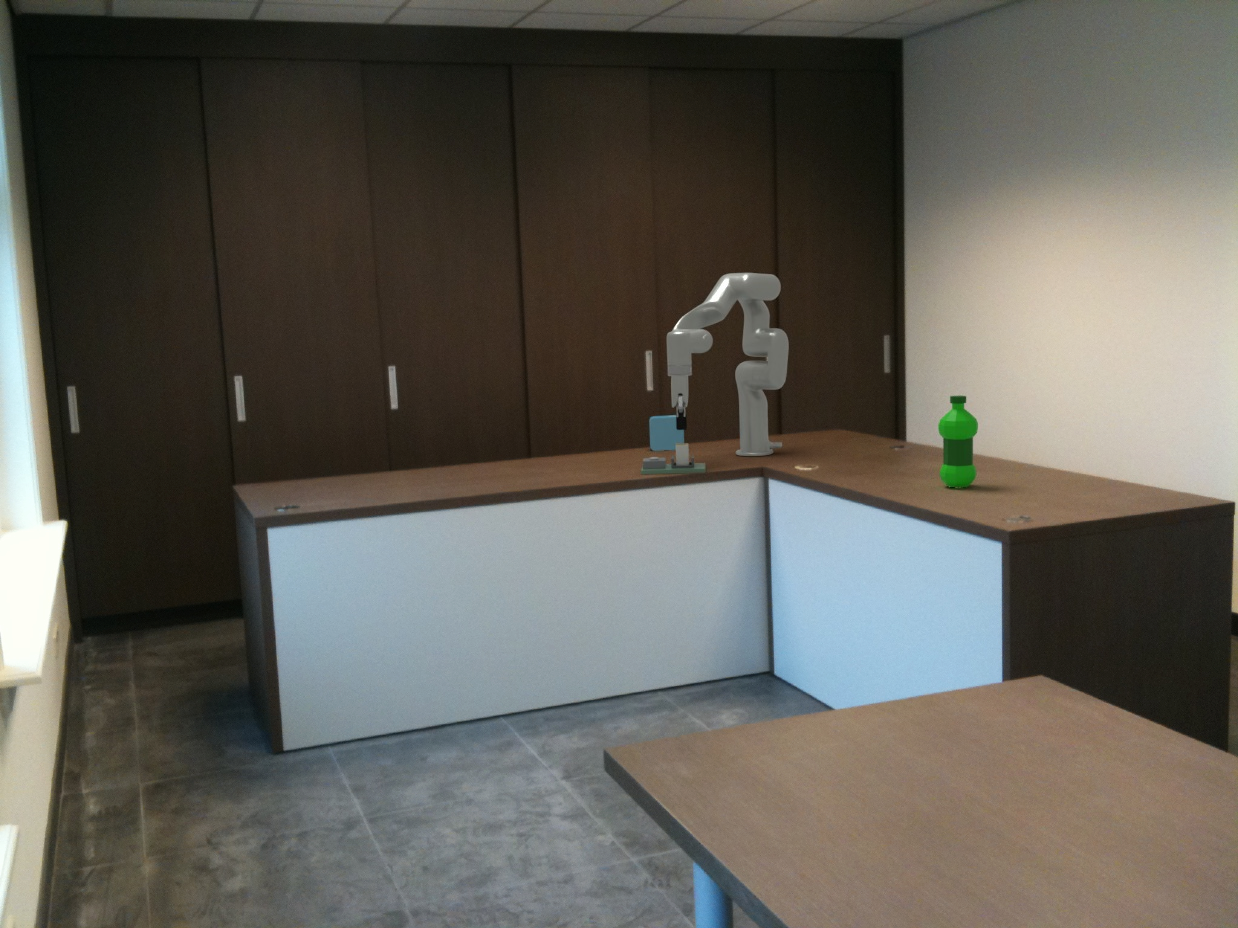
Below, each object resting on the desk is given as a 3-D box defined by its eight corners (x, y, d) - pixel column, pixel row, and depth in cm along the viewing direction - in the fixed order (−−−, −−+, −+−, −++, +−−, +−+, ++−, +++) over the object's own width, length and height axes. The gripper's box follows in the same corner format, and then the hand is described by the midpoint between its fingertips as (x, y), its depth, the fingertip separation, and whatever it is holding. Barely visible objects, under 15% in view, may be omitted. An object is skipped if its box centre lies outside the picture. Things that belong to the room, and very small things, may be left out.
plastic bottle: (965, 482, 341) (965, 393, 338) (984, 488, 331) (984, 396, 328) (932, 485, 339) (932, 395, 336) (950, 491, 329) (950, 399, 325)
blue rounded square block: (683, 448, 436) (682, 414, 434) (684, 450, 431) (683, 416, 429) (650, 449, 436) (649, 416, 434) (650, 451, 431) (649, 417, 429)
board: (705, 466, 390) (704, 453, 389) (705, 472, 378) (705, 458, 378) (642, 468, 391) (642, 455, 391) (641, 474, 380) (640, 460, 379)
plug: (689, 465, 386) (688, 442, 385) (689, 467, 382) (688, 444, 381) (676, 465, 386) (675, 442, 385) (676, 467, 383) (675, 444, 381)
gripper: (668, 369, 389) (670, 426, 391) (667, 373, 372) (669, 432, 375) (691, 368, 388) (693, 425, 391) (691, 372, 371) (693, 431, 374)
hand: (681, 428), depth 383 cm, fingers open, 4 cm apart
